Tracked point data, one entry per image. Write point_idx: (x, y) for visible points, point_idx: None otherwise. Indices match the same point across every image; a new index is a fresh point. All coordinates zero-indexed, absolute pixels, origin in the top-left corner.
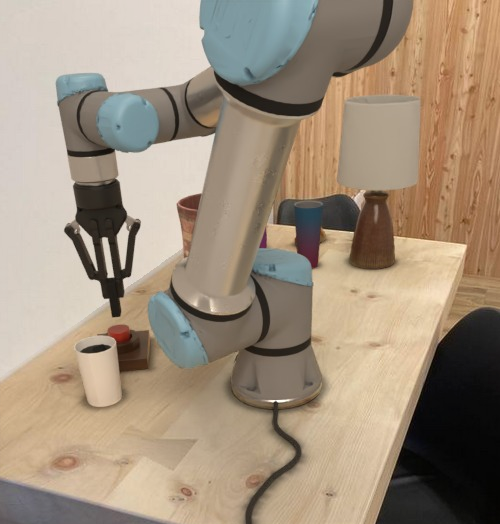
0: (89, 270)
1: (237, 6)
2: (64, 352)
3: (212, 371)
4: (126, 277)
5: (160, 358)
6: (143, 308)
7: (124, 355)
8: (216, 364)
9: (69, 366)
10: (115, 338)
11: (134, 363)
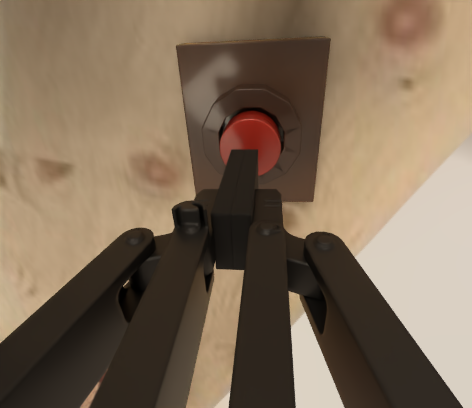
0: (337, 270)
1: None
2: (390, 165)
3: (22, 5)
4: (155, 236)
5: (164, 99)
6: (231, 306)
7: (238, 73)
8: (26, 45)
9: (383, 89)
10: (258, 115)
11: (212, 42)
